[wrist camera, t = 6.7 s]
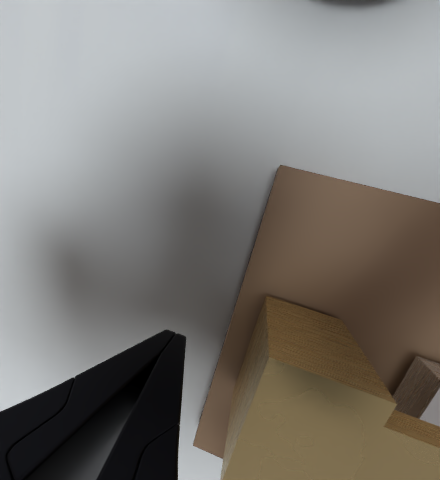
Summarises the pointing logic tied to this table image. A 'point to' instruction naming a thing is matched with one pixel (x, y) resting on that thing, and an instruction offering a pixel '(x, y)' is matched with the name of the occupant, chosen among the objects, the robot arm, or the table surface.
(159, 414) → the robot arm
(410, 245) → the base
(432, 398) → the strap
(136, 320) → the table surface
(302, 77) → the table surface
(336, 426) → the gold t-shaped block
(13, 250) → the table surface
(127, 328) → the table surface
